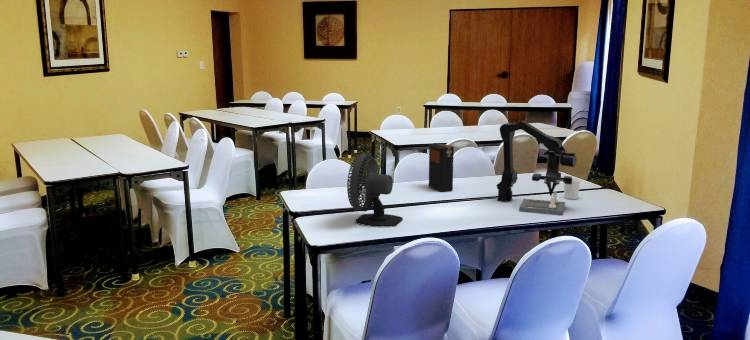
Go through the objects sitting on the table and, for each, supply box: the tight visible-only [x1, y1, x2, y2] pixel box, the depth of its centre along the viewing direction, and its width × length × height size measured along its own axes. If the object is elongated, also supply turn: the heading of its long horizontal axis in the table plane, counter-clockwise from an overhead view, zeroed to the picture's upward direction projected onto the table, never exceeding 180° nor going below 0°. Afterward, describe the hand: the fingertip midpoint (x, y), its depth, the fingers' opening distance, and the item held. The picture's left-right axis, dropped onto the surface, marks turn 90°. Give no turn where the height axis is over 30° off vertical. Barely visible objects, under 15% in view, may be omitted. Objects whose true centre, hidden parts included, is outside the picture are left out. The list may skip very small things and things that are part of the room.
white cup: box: [563, 177, 581, 200], centre depth 313 cm, size 8×8×10 cm
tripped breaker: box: [552, 191, 559, 203], centre depth 295 cm, size 3×4×5 cm
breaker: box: [549, 195, 556, 208], centre depth 286 cm, size 3×4×5 cm
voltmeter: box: [428, 142, 455, 193], centre depth 332 cm, size 16×9×25 cm, turn 25°
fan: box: [346, 154, 404, 227], centre depth 271 cm, size 26×26×30 cm
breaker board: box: [518, 198, 566, 216], centre depth 293 cm, size 20×18×2 cm
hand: (550, 195), depth 296 cm, fingers closed
